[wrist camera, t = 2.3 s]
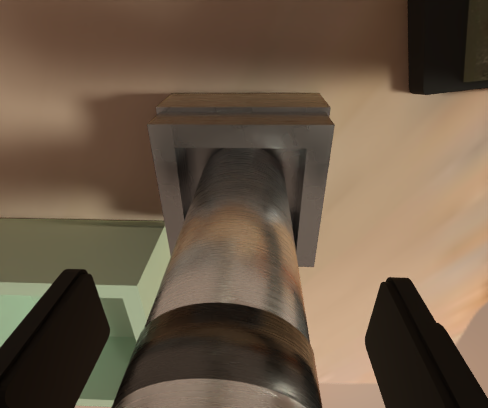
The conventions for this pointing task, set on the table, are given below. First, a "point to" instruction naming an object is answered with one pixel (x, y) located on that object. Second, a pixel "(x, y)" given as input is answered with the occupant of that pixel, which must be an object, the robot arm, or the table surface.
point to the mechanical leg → (447, 45)
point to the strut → (228, 301)
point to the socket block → (244, 136)
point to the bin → (104, 275)
